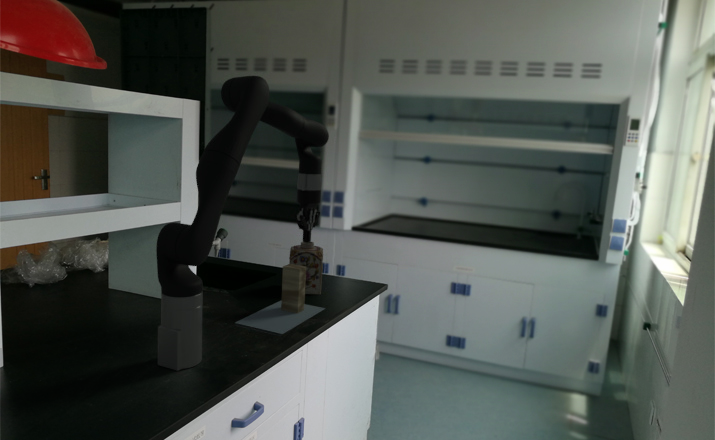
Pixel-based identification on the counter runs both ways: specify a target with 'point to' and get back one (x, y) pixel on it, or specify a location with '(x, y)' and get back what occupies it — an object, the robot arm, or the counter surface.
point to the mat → (278, 318)
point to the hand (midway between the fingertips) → (306, 241)
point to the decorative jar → (309, 264)
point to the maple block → (293, 288)
